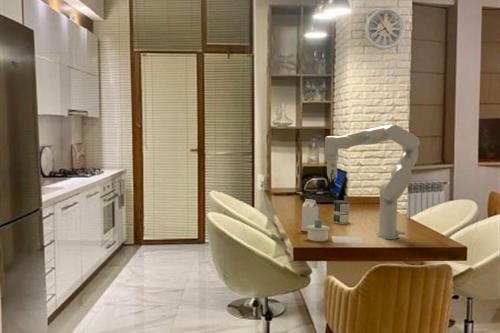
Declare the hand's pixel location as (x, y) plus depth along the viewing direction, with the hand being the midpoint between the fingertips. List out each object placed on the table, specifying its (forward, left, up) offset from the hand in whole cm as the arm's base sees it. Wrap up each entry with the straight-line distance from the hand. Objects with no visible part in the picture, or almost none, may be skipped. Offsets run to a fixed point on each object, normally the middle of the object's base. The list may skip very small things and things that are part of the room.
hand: (331, 187), depth 281 cm
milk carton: (+12, -11, -28) cm, 32 cm away
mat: (-8, +12, -28) cm, 31 cm away
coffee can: (-9, -42, -28) cm, 51 cm away
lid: (+8, +12, -22) cm, 26 cm away
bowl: (+8, +12, -28) cm, 31 cm away
